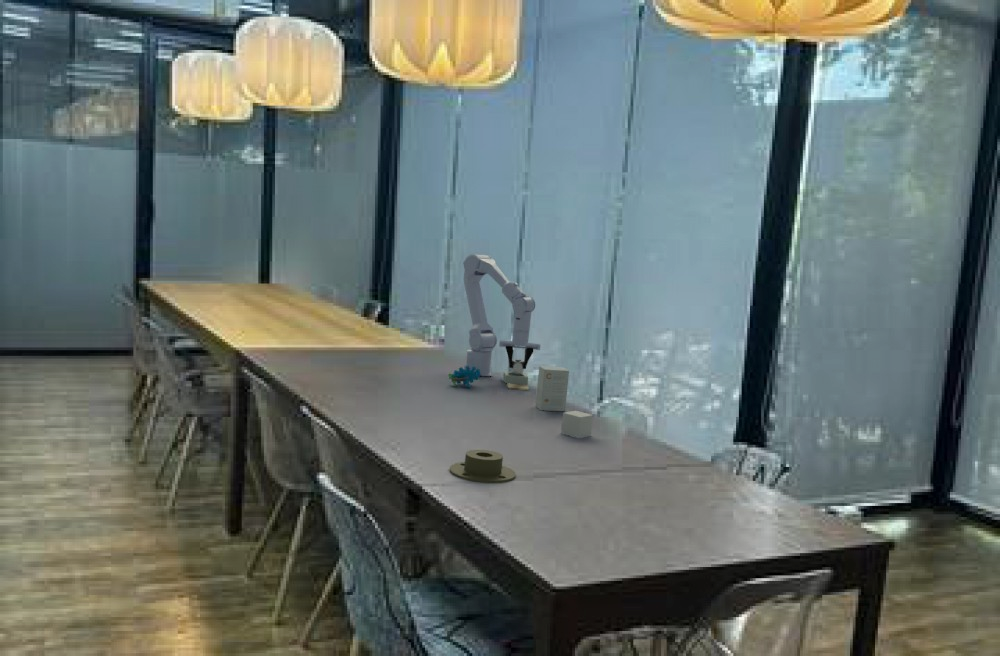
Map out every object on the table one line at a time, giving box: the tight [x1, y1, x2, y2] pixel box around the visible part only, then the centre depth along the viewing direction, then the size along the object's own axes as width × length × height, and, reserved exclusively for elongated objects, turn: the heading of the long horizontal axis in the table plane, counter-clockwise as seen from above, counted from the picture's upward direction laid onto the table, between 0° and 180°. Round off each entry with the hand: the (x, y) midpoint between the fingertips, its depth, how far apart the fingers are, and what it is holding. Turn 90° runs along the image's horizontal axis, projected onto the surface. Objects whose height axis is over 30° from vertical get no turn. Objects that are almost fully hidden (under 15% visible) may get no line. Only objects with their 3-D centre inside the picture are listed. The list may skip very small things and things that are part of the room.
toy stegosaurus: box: [448, 366, 482, 389], centre depth 307 cm, size 11×6×10 cm
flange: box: [449, 449, 517, 484], centre depth 206 cm, size 5×15×15 cm
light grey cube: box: [560, 410, 594, 439], centre depth 253 cm, size 6×6×6 cm
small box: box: [535, 365, 570, 412], centre depth 284 cm, size 8×6×13 cm
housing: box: [502, 371, 529, 386], centre depth 324 cm, size 8×8×3 cm
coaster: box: [506, 383, 530, 391], centre depth 315 cm, size 7×7×1 cm
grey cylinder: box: [510, 358, 525, 376], centre depth 324 cm, size 4×4×7 cm
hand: (517, 368), depth 324 cm, fingers closed on grey cylinder, 4 cm apart
